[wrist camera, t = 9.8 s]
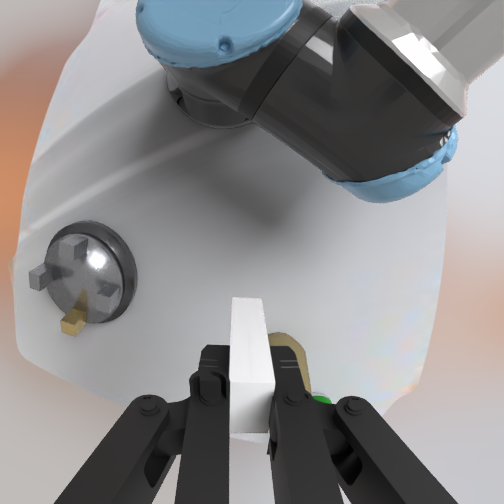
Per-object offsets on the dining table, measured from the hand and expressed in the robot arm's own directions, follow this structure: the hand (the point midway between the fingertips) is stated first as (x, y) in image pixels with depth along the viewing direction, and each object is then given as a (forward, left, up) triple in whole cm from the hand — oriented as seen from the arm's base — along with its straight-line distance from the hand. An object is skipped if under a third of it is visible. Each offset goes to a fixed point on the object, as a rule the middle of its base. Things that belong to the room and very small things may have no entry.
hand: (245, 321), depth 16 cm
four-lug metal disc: (+10, -22, -24) cm, 34 cm away
